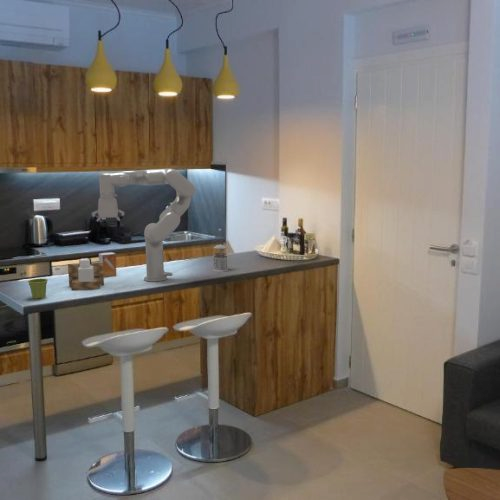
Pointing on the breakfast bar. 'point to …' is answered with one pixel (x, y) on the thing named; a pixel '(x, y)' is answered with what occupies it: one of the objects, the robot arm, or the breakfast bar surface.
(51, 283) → the breakfast bar surface
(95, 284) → the wooden crate
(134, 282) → the breakfast bar surface
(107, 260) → the small box
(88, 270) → the medicine bottle
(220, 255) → the french press
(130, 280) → the breakfast bar surface
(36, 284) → the plant pot
